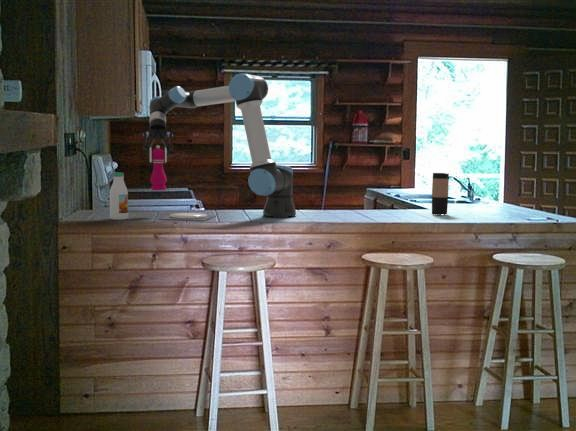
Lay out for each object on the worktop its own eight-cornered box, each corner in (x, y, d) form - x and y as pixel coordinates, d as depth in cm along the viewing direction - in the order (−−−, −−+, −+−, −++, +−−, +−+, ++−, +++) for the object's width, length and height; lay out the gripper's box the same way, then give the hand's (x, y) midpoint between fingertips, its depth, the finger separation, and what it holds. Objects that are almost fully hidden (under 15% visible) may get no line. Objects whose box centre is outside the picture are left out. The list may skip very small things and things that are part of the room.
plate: (211, 215, 323) (211, 213, 323) (200, 219, 307) (200, 217, 307) (177, 214, 326) (177, 212, 326) (165, 218, 310) (165, 216, 310)
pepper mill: (163, 190, 318) (162, 145, 316) (148, 190, 319) (147, 145, 317) (169, 189, 325) (168, 145, 323) (154, 189, 326) (153, 145, 324)
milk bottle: (112, 220, 303) (111, 173, 301) (107, 218, 310) (107, 172, 308) (130, 219, 307) (129, 172, 305) (125, 217, 314) (125, 172, 312)
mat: (216, 216, 325) (216, 215, 325) (204, 221, 305) (204, 220, 305) (174, 215, 328) (174, 214, 328) (159, 219, 309) (159, 218, 309)
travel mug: (429, 215, 345) (431, 173, 343) (432, 213, 352) (434, 172, 350) (445, 215, 342) (447, 173, 340) (448, 214, 349) (450, 173, 347)
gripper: (178, 129, 336) (179, 165, 322) (137, 129, 333) (136, 166, 318) (178, 118, 330) (180, 154, 316) (136, 117, 327) (136, 154, 313)
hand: (158, 160), depth 317 cm, fingers closed on pepper mill, 6 cm apart
